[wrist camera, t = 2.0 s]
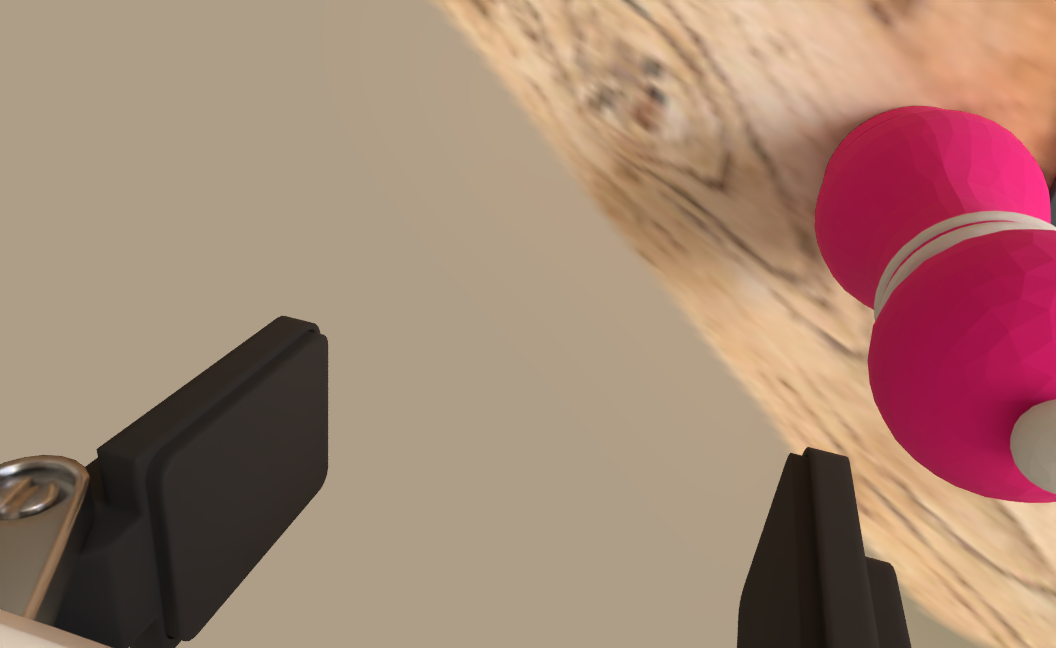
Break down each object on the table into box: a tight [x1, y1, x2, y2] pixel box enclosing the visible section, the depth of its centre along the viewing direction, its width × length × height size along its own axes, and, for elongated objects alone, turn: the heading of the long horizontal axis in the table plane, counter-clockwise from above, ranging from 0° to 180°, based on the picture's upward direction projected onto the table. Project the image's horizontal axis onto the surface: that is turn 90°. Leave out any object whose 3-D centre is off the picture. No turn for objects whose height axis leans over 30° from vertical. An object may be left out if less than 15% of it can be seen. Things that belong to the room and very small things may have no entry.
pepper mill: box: [815, 106, 1056, 503], centre depth 22 cm, size 7×7×20 cm
